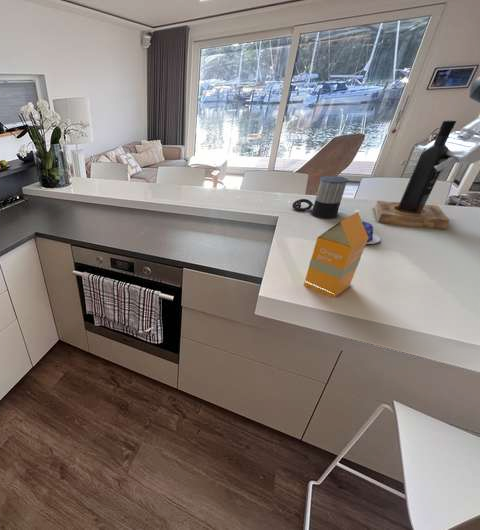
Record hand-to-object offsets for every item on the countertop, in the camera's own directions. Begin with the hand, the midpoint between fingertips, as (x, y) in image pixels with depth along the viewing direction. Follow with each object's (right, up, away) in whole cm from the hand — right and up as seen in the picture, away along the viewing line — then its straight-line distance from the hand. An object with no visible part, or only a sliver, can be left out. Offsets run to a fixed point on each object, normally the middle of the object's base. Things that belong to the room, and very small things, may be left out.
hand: (427, 166), depth 100 cm
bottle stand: (+2, -17, +10) cm, 19 cm away
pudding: (-25, -25, -1) cm, 36 cm away
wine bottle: (+2, -14, +8) cm, 16 cm away
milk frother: (-25, -12, +22) cm, 36 cm away
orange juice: (-51, -40, -22) cm, 69 cm away
